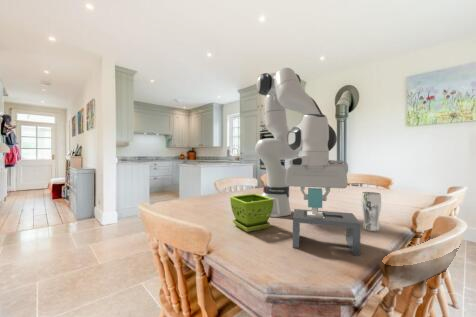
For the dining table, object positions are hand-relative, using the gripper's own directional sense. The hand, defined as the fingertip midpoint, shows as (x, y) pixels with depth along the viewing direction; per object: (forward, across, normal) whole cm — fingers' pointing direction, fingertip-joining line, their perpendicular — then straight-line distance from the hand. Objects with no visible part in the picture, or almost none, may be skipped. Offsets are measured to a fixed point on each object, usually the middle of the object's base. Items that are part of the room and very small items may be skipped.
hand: (314, 200), depth 76 cm
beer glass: (+15, -23, -22) cm, 35 cm away
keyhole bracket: (+15, -3, 0) cm, 15 cm away
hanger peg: (+6, 0, 0) cm, 6 cm away
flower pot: (+15, +25, -10) cm, 31 cm away
